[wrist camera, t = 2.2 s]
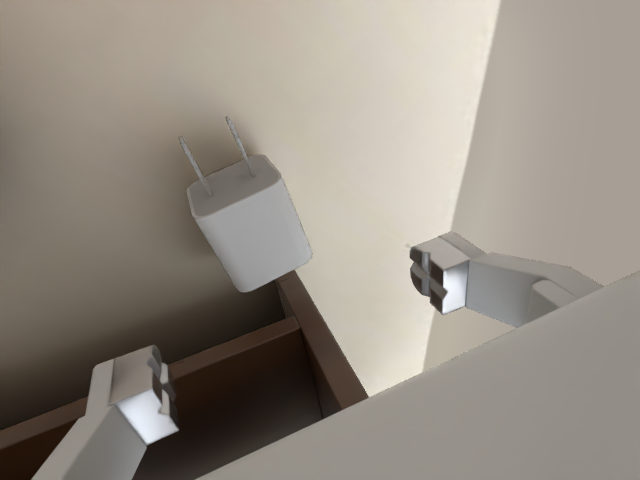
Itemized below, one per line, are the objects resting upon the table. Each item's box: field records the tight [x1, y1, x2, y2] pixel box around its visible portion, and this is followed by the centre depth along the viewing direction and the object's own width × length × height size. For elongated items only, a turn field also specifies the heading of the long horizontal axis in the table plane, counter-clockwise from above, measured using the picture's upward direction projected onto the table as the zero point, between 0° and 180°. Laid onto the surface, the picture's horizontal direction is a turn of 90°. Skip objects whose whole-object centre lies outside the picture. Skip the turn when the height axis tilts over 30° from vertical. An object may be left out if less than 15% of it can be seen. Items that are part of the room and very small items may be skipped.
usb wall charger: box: [179, 116, 312, 292], centre depth 17 cm, size 4×7×4 cm, turn 18°
